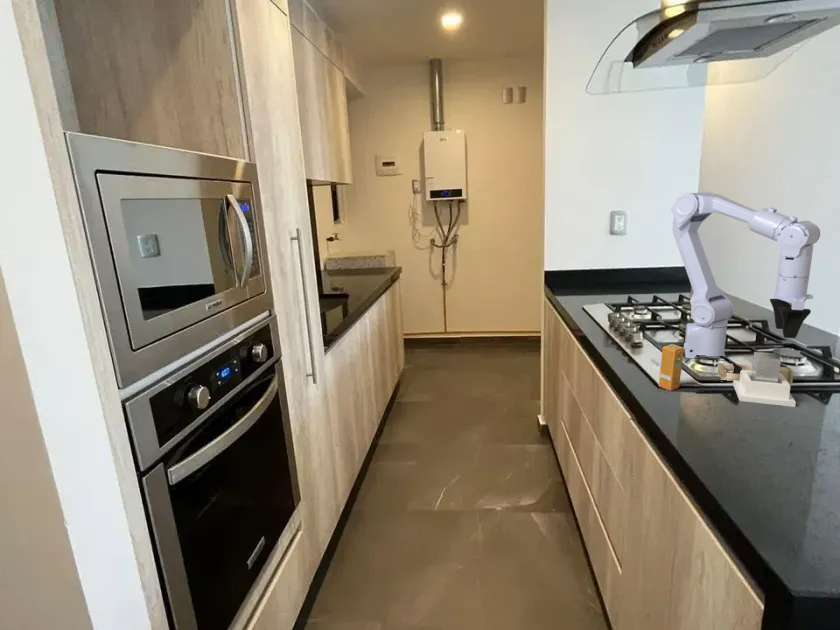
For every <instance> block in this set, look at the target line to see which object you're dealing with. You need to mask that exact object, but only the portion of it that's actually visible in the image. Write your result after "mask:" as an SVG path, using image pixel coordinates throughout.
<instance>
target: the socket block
mask: <svg viewBox="0 0 840 630" xmlns="http://www.w3.org/2000/svg"><path fill="white" fill-rule="evenodd" d="M733 364H734V363H727V362H726V363H724V362H717V367H716V369H717V368H718V371H717V373H719V374H718V376H720V377H719V379H720V378H721V379H720V381H721V380H727V381H733V380H738V381H739V380H740V373H733V372H726V371H733V370H734V366H733ZM735 364H736V365H739V366H741V367H742V370H750V371H752V366H753V365H751V364H750V365H749V364H737V363H735ZM725 370H726V371H725Z"/></svg>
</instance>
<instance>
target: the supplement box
mask: <svg viewBox="0 0 840 630" xmlns="http://www.w3.org/2000/svg"><path fill="white" fill-rule="evenodd" d="M684 354H685V351H684V346H680V345H677V344H672V343H670V344H668V345H664V346H662V352H661V359H660V360H661V361H660V369H659V378H658V387H660V388H662V389H664V390H667V391H673V390H676V389H679V388H680V383H681V376H682V375H681V374H682V366H683V359H684Z"/></svg>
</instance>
